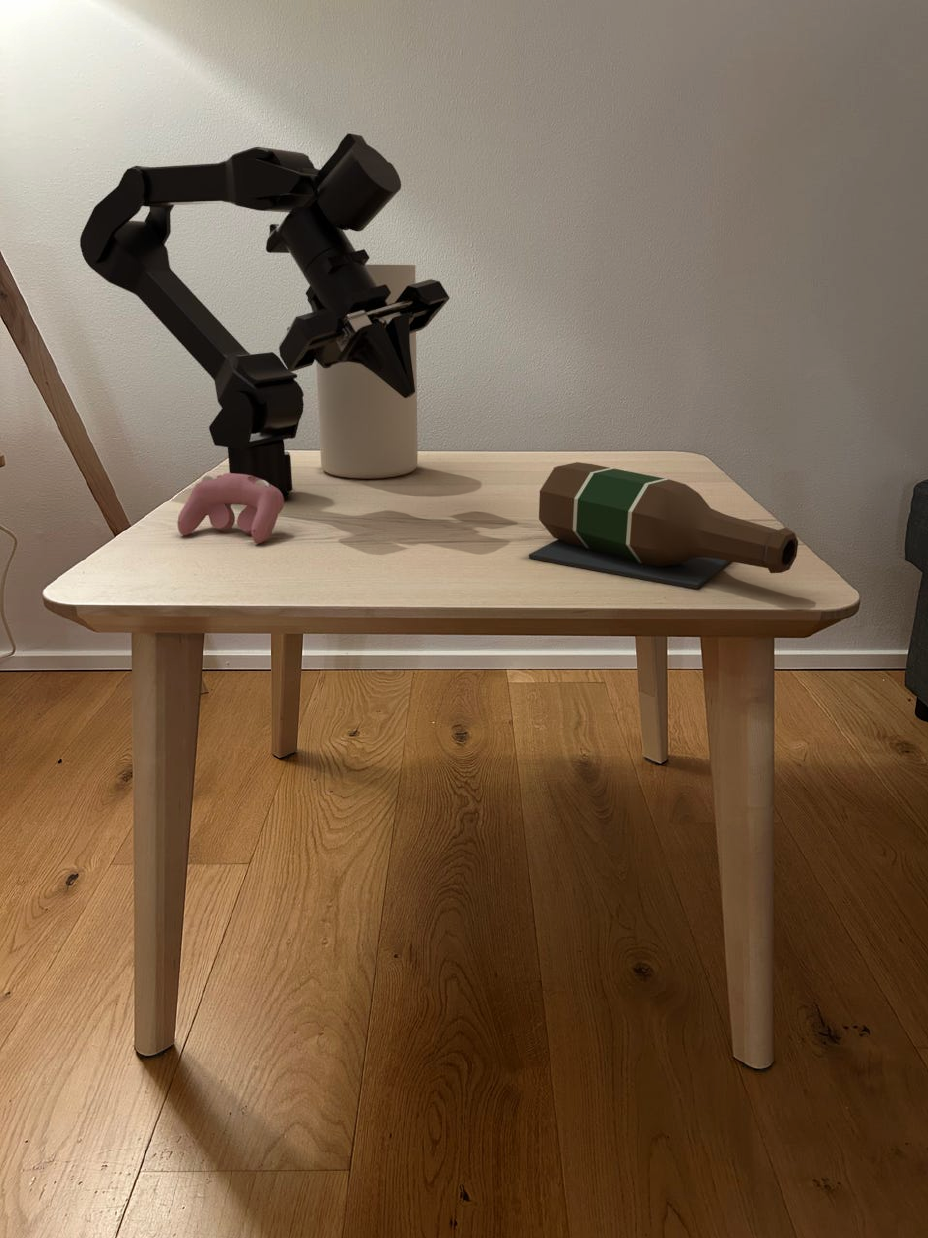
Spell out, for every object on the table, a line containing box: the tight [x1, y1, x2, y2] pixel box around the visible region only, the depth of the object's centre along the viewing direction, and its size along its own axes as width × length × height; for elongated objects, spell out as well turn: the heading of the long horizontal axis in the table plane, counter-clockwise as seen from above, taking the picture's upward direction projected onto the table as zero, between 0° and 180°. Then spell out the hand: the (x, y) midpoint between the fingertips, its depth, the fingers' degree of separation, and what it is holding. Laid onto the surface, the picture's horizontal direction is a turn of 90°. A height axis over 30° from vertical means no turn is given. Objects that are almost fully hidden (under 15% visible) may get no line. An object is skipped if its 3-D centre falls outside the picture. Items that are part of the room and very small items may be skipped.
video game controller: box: [176, 472, 285, 545], centre depth 93 cm, size 10×5×7 cm, turn 71°
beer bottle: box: [538, 461, 800, 574], centre depth 83 cm, size 8×8×24 cm
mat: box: [528, 539, 732, 590], centre depth 87 cm, size 16×12×1 cm
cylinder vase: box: [315, 264, 419, 480], centre depth 118 cm, size 12×12×25 cm
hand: (410, 395), depth 94 cm, fingers closed
